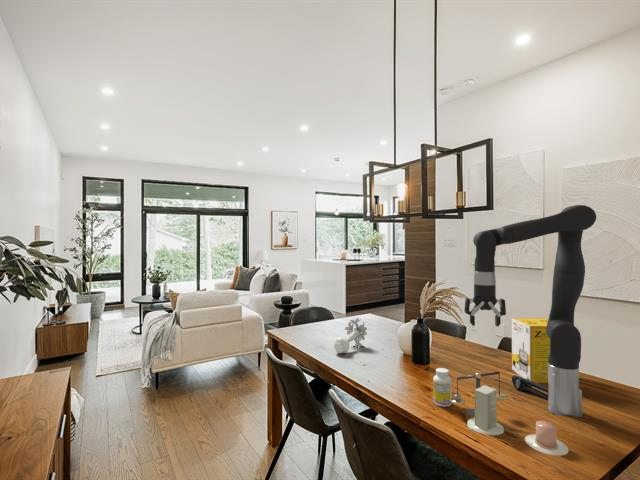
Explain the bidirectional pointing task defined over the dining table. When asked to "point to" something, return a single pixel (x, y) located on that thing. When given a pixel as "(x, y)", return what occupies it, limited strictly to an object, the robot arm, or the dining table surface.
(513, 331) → the packaging box
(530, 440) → the dish near
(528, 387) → the can opener
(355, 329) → the flower vase
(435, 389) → the supplement bottle
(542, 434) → the peach domed cylinder
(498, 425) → the pale white round dome
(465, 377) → the balance
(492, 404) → the skincare box
